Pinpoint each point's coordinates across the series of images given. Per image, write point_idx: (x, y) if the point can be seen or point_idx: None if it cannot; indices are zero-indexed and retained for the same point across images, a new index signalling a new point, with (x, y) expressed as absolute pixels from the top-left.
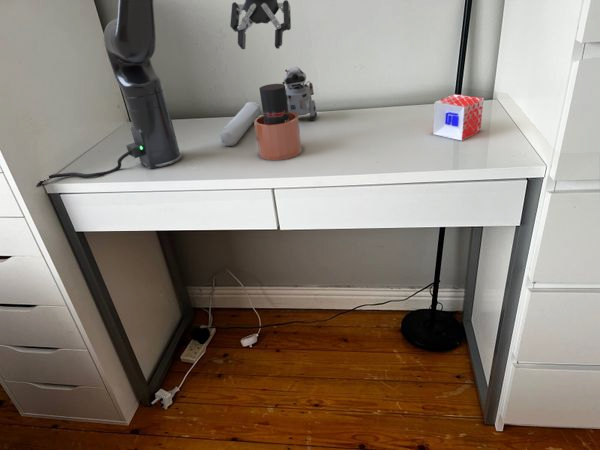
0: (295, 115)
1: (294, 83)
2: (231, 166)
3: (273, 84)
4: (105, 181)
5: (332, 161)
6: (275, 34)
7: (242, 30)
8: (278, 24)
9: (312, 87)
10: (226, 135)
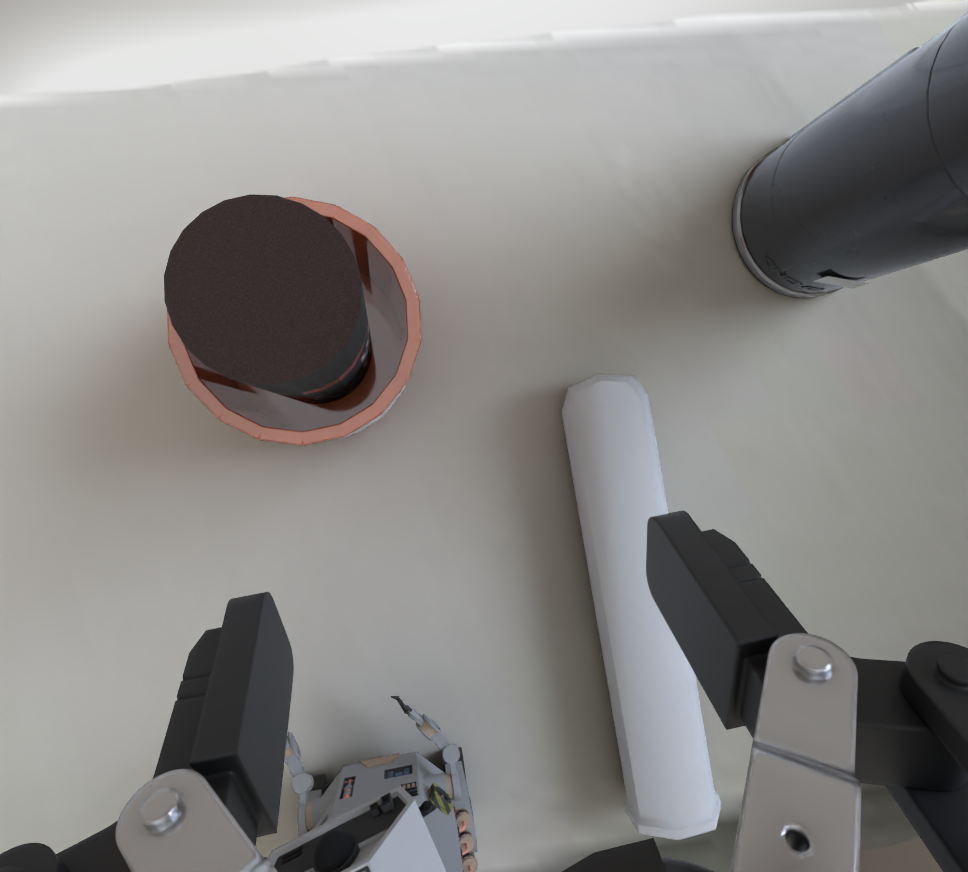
0: (195, 373)
1: (345, 817)
2: (473, 181)
3: (287, 363)
4: (902, 22)
5: (29, 257)
6: (240, 695)
7: (758, 666)
8: (160, 846)
9: None
10: (606, 378)
